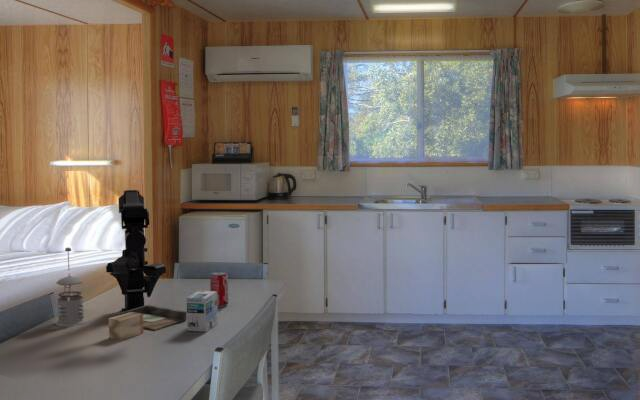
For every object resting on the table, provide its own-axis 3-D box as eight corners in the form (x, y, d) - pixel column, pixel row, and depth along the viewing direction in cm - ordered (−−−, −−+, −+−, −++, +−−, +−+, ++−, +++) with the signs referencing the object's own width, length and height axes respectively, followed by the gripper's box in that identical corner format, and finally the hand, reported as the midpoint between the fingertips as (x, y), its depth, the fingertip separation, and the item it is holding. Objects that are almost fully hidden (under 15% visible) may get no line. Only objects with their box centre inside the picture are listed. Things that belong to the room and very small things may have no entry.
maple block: (109, 337, 207) (108, 318, 207) (132, 330, 215) (131, 311, 214) (120, 340, 204) (119, 320, 204) (143, 332, 212) (142, 313, 211)
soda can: (207, 307, 244) (206, 273, 243) (216, 303, 250) (215, 270, 249) (222, 308, 241) (221, 275, 240) (231, 304, 247) (230, 271, 246)
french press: (57, 328, 218) (53, 250, 216) (52, 319, 228) (49, 245, 226) (89, 324, 223) (86, 248, 220) (83, 315, 233) (80, 243, 231)
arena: (116, 322, 224) (115, 313, 224) (148, 313, 236) (148, 304, 235) (155, 330, 214) (154, 321, 214) (186, 320, 226) (186, 311, 226)
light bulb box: (206, 332, 212) (206, 298, 211) (186, 331, 213) (185, 297, 212) (218, 323, 222) (218, 290, 221) (199, 322, 224) (198, 290, 223)
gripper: (92, 248, 206) (94, 299, 207) (143, 251, 198) (144, 304, 200) (117, 243, 216) (119, 291, 217) (166, 245, 208) (167, 296, 210)
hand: (136, 295), depth 211 cm, fingers open, 9 cm apart
